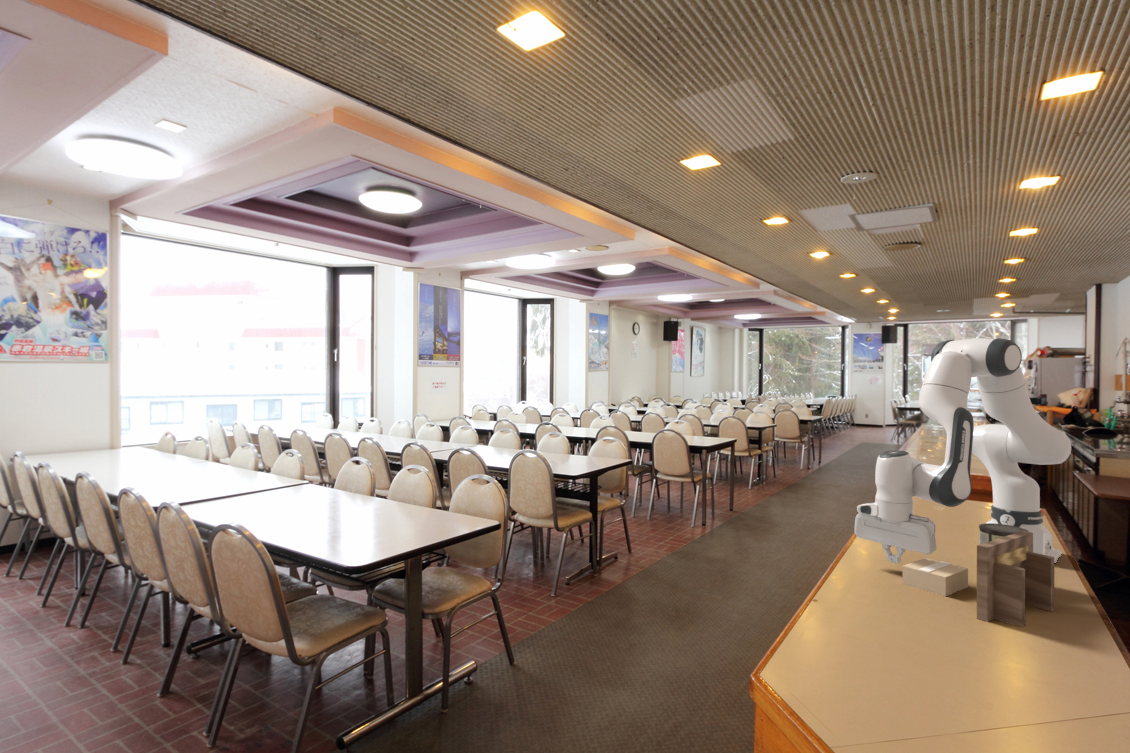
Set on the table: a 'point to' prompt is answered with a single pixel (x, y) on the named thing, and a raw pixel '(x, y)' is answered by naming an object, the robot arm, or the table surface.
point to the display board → (1013, 579)
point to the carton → (935, 576)
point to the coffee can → (996, 531)
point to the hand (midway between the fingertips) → (893, 562)
